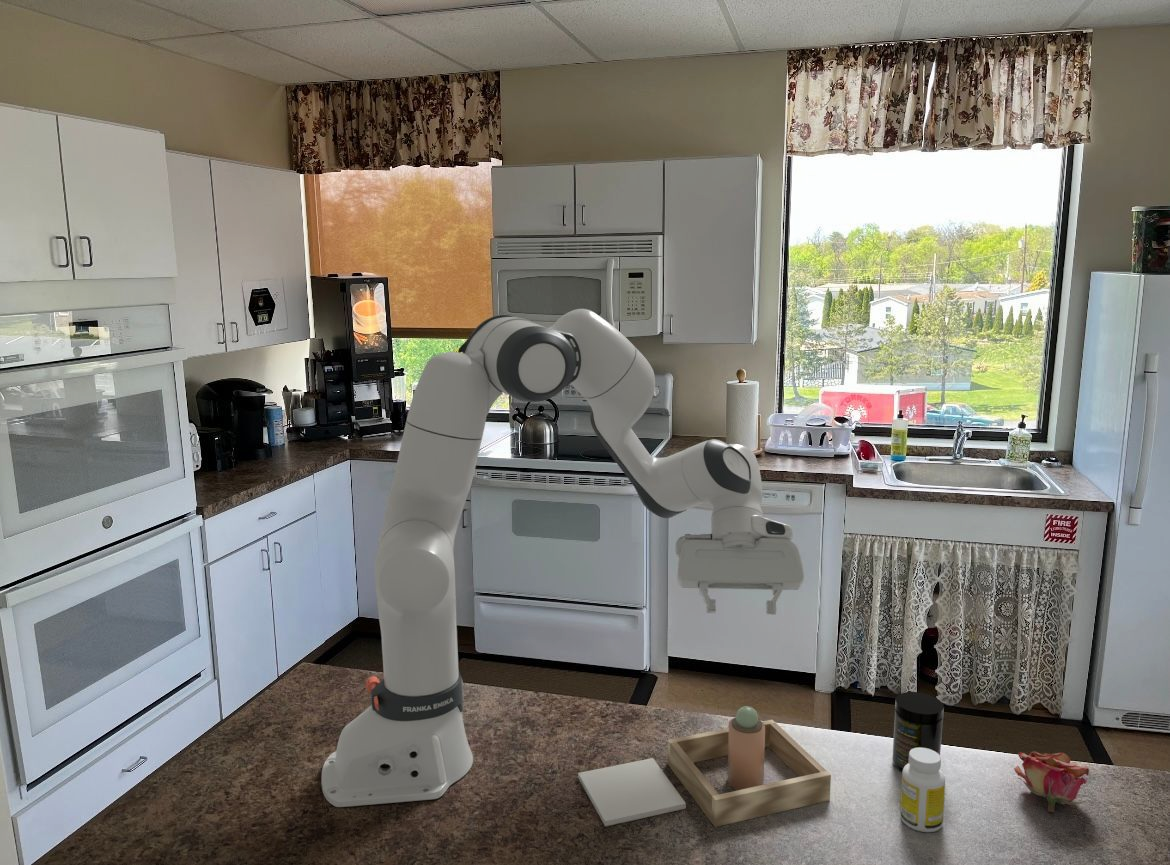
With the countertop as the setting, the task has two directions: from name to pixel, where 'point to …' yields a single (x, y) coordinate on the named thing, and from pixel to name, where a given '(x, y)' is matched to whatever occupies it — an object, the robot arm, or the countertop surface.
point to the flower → (1052, 777)
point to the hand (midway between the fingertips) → (741, 612)
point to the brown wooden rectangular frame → (755, 799)
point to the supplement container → (916, 725)
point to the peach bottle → (746, 750)
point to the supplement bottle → (923, 791)
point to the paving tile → (630, 791)
